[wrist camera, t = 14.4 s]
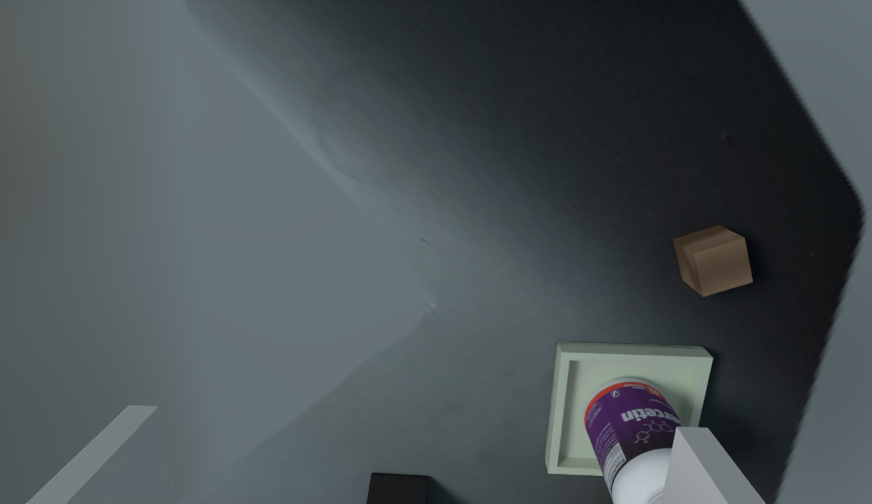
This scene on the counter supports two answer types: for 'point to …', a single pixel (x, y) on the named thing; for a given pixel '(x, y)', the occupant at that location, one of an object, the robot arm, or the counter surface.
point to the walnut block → (713, 260)
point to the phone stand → (397, 489)
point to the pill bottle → (631, 438)
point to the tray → (602, 362)
